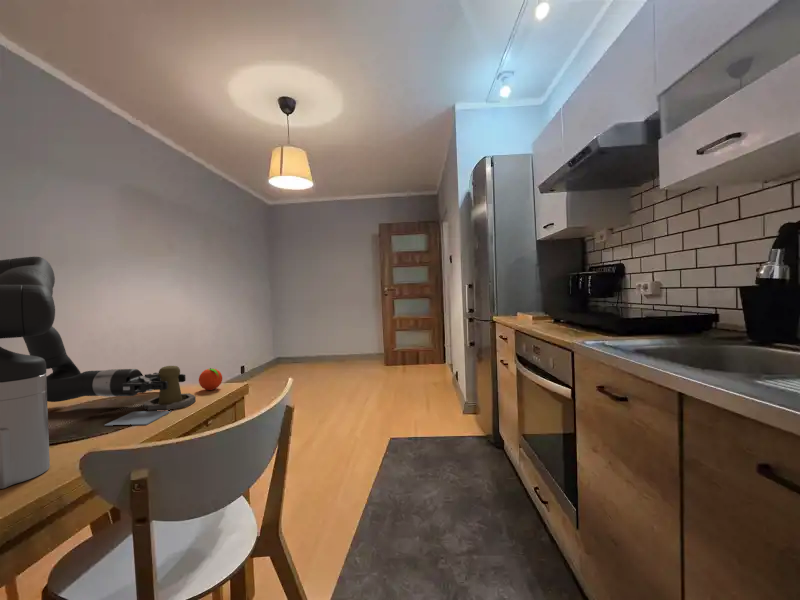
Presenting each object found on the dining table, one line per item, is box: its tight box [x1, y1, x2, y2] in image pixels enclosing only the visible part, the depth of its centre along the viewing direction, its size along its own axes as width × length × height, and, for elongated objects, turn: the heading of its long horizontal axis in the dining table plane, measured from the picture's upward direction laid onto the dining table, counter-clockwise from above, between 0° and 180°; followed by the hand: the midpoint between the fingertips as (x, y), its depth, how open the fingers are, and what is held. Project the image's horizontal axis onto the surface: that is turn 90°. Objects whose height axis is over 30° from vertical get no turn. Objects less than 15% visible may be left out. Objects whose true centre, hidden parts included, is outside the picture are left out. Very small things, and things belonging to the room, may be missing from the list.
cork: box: [158, 365, 183, 404], centre depth 106 cm, size 6×6×11 cm
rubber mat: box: [104, 410, 172, 427], centre depth 95 cm, size 10×10×1 cm
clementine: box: [198, 367, 223, 391], centre depth 122 cm, size 8×7×7 cm
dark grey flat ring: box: [143, 392, 197, 411], centre depth 106 cm, size 12×12×2 cm
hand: (176, 381), depth 106 cm, fingers open, 8 cm apart
